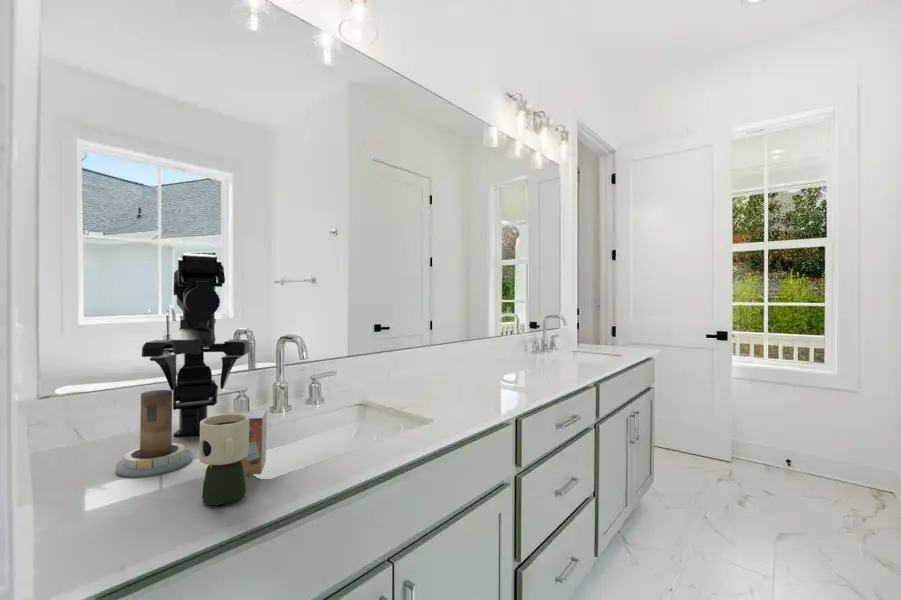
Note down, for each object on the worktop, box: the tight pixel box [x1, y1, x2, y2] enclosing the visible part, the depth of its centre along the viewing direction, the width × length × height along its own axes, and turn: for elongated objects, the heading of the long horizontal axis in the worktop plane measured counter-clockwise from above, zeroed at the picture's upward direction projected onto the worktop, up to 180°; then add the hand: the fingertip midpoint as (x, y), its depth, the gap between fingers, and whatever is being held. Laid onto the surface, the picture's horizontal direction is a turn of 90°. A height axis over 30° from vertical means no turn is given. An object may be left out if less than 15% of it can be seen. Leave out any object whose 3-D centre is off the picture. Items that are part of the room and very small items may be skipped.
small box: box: [220, 409, 268, 476], centre depth 81 cm, size 8×6×10 cm
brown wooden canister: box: [139, 389, 173, 459], centre depth 83 cm, size 6×5×13 cm
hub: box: [115, 442, 193, 478], centre depth 83 cm, size 12×12×2 cm
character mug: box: [198, 413, 249, 506], centre depth 70 cm, size 11×7×13 cm, turn 35°
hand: (198, 389), depth 90 cm, fingers open, 9 cm apart
